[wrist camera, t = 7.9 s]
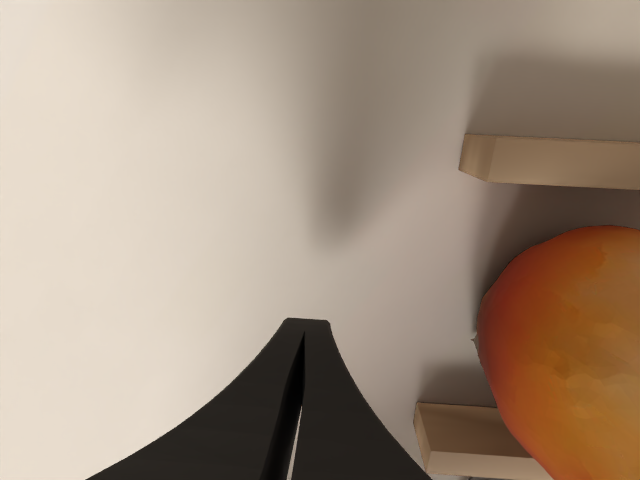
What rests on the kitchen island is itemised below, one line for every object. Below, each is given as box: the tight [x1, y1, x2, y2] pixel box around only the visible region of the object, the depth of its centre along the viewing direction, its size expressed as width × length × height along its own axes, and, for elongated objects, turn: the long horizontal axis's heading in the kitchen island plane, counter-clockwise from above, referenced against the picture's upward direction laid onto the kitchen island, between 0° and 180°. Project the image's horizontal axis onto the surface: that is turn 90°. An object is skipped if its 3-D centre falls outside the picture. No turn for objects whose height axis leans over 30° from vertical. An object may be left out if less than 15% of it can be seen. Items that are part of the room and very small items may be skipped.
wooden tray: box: [413, 134, 640, 480], centre depth 14 cm, size 24×12×2 cm, turn 177°
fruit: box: [471, 225, 640, 480], centre depth 11 cm, size 8×8×8 cm
